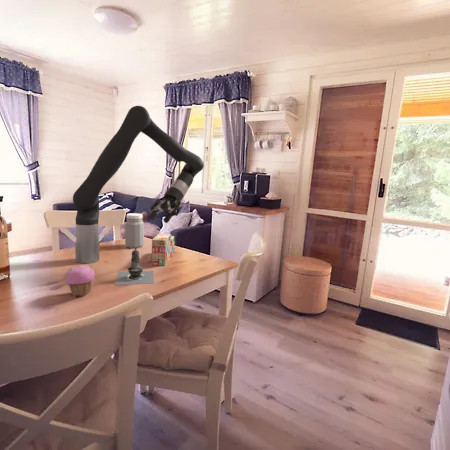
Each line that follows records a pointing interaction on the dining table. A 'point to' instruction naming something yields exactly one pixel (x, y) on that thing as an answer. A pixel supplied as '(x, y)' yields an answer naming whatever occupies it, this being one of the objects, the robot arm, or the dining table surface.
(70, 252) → the dining table surface
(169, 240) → the stack of blocks
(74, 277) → the cupcake
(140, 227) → the jar
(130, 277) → the grey chess piece
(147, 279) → the mat
